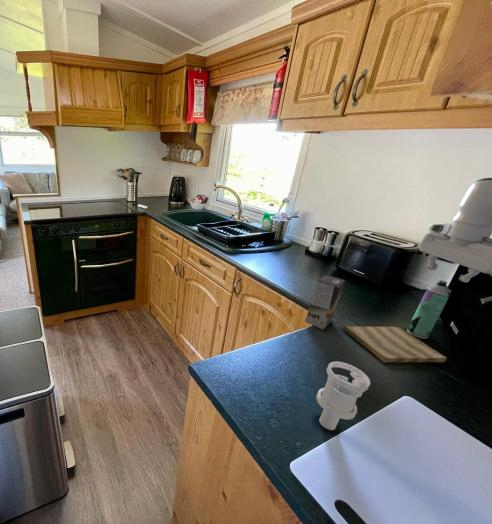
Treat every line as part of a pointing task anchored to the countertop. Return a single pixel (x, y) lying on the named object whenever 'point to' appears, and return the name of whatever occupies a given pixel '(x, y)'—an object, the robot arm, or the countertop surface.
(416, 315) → the spray can
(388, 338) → the chopping board
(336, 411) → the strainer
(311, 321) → the coffee box
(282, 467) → the countertop surface
